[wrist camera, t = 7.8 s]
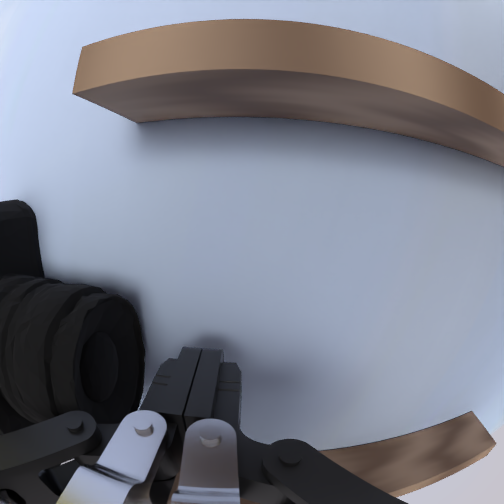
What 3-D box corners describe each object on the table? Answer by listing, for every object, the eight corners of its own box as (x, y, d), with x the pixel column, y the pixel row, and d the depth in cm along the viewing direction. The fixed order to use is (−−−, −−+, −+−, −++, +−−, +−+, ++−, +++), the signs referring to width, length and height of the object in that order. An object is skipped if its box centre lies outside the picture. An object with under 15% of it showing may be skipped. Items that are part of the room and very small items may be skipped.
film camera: (171, 438, 13) (138, 557, 5) (53, 405, 14) (-3, 482, 5) (135, 170, 10) (-83, 174, 1) (-2, 191, 10) (-123, 217, 1)
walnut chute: (536, 160, 9) (584, 163, 5) (464, 423, 14) (486, 455, 10) (140, 89, 9) (82, 46, 5) (176, 458, 14) (163, 509, 10)
